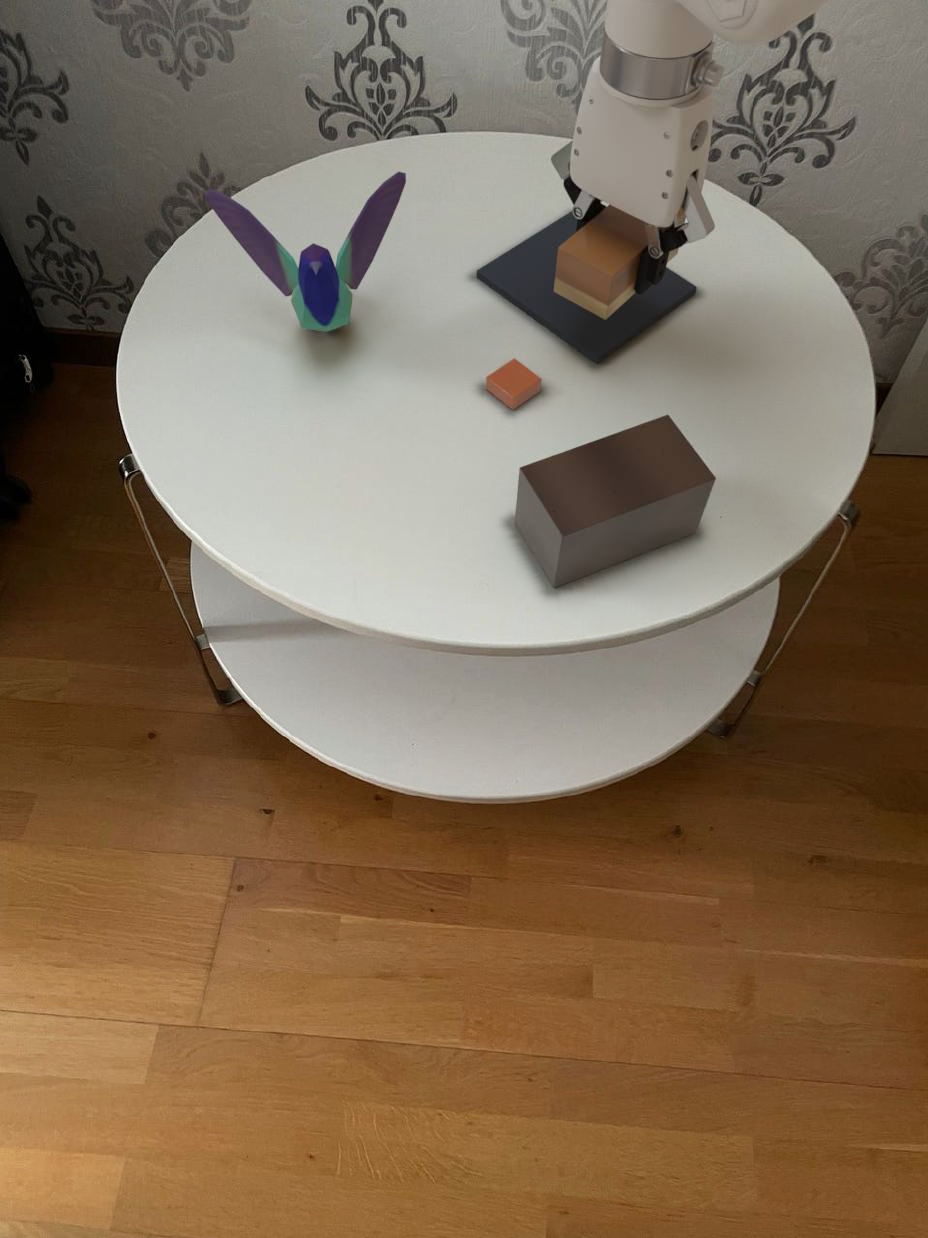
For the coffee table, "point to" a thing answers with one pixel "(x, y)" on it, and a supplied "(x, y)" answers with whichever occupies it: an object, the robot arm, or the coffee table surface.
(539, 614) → the coffee table surface
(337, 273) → the decorative sculpture
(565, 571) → the stand
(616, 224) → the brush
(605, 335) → the mat
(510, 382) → the orange square block
